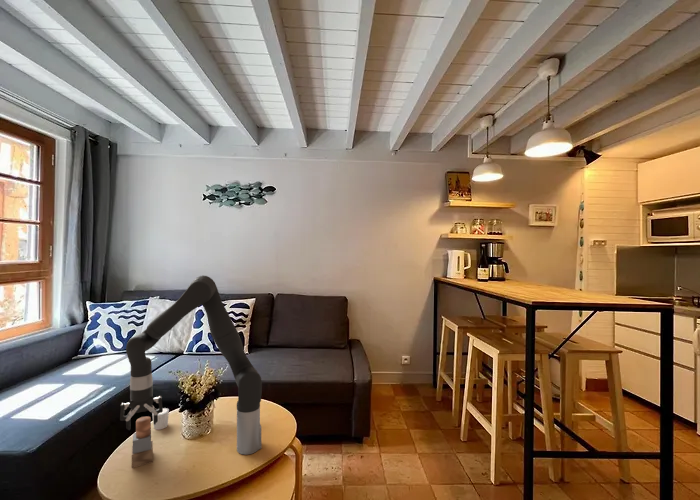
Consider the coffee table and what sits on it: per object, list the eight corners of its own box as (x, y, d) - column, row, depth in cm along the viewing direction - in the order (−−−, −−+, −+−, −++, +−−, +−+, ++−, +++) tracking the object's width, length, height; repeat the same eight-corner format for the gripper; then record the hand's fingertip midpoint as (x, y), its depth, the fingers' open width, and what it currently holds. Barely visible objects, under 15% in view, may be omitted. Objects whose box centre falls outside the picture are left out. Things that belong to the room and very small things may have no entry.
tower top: (151, 441, 144) (150, 429, 143) (150, 449, 138) (150, 437, 138) (133, 445, 141) (133, 433, 140) (132, 454, 135) (132, 441, 135)
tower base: (152, 452, 144) (152, 440, 144) (152, 462, 138) (152, 449, 138) (132, 457, 141) (132, 445, 141) (131, 468, 135) (131, 455, 135)
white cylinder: (162, 431, 160) (161, 415, 160) (148, 429, 161) (148, 414, 161) (172, 423, 167) (172, 408, 166) (159, 421, 168) (159, 407, 168)
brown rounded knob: (150, 430, 143) (150, 415, 143) (151, 436, 139) (150, 421, 138) (136, 433, 140) (135, 418, 140) (135, 439, 136) (135, 424, 136)
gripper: (161, 378, 145) (162, 417, 146) (120, 385, 138) (121, 426, 139) (162, 385, 139) (163, 426, 139) (118, 393, 132) (119, 436, 132)
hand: (142, 426), depth 139 cm, fingers open, 8 cm apart
